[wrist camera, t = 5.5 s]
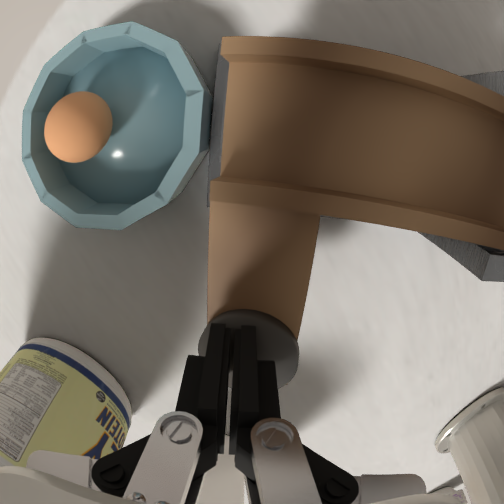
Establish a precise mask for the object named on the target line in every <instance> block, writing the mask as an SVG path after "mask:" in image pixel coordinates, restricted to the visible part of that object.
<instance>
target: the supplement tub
mask: <svg viewBox="0 0 504 504" xmlns="http://www.w3.org/2000/svg"><path fill="white" fill-rule="evenodd" d="M131 418H132V412H131V406H130V403H129V400H128V398H127V396H126V394H125V392H124V390H123V389H122V387H121V386H120V385H119V383H118V382H117V381H116V380H115V378H114V377H113V376H112V375H111V374H110V373H109V372H108V371H107V370H106V369H105V368H103V367H102V366H101V365H100V364H99V363H98V362H96V361H95V360H94V359H92V358H91V357H90V356H88V355H87V354H85V353H84V352H82V351H80V350H79V349H77V348H75V347H73V346H71V345H69V344H67V343H65V342H62V341H59V340H55V339H51V338H34V339H31V340H29V341H27V342H26V343H24V344H23V345H22V346H21V347H20V348H19V350H18V351H17V352H16V353H15V354H14V356H13V357H12V358H11V359H10V361H9V362H8V363H7V364H6V366H5V367H4V368H3V369H2V371H1V372H0V467H2V466H19V467H26V465H27V460H28V458H29V456H30V455H31V454H32V453H33V452H35V451H37V450H46V451H52V452H58V453H64V454H71V455H79V456H88V457H90V458H91V459H98V460H99V459H100V458H102V457H104V456H106V455H108V454H110V453H113V452H115V451H117V450H119V449H121V448H122V447H123V444H124V441H125V438H126V436H127V433H128V430H129V428H130V425H131Z"/></svg>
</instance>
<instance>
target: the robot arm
mask: <svg viewBox="0 0 504 504" xmlns="http://www.w3.org/2000/svg"><path fill="white" fill-rule="evenodd" d="M230 339H231V328H226V324H221V323H211V326H210V332H209V337H208V343H207V349H206V355H205V356H195V355H188V357H187V361H186V365H185V370H184V374H183V378H182V383H181V387H180V392H179V396H178V401H177V405H176V410H175V412H170V413H167V414H165V415H163V416H162V417H161V418H159V420H158V421H157V423H156V425H155V427H154V429H153V431H152V433H151V434H150V435H148V436H146V437H144V438H142V439H140V440H138V441H136V442H134V443H132V444H130V445H128V446H126V447H123V448H121V449H119V450H117V451H115V452H113V453H110V454H108V455H106V456H104V457H102V458H100V459H99V460H98V459H91V458H90V457H88V456H79V455H71V454H64V453H58V452H52V451H46V450H37V451H35V452H33V453H32V454H31V455H30V456H29V458H28V460H27V465H26V467H19V466H2V467H0V504H198V502H199V498H200V495H201V491H202V488H203V484H204V481H205V477H206V472H207V471H208V470H210V469H211V468H213V467H214V466H216V461H218V454H224V444H225V427H226V411H227V396H228V380H229V359H230ZM435 447H436V449H437V451H438V452H439V453H448V452H451V454H452V456H453V459H454V461H455V463H456V466H457V468H458V470H459V473H460V475H461V478H462V480H463V483H464V485H465V488H466V490H467V493H468V495H469V498H470V501H471V504H504V387H501V388H498V389H495V390H493V391H491V392H489V393H488V394H486V395H484V396H482V397H481V398H480V399H478V400H477V401H475V402H474V403H472V404H471V405H470V406H468V407H467V408H466V409H465V410H463V411H462V412H461V413H460V414H459V415H458V416H456V417H455V418H454V419H453V420H452V421H451V422H450V423H449V424H448V425H447V426H446V427H445V428H444V429H443V430H442V432H441V433H440V434H439V436H438V437H437V440H436V442H435ZM229 455H235V457H234V462H235V467H236V468H237V469H238V470H239V471H241V472H242V473H243V474H244V479H245V484H246V490H247V495H248V500H249V504H463V503H462V502H461V501H460V500H458V499H457V498H455V497H453V496H450V495H445V494H434V493H432V494H426V486H425V483H424V481H423V479H422V478H421V477H419V476H417V475H415V474H394V475H364V474H362V475H361V476H352V475H351V474H349V473H348V472H346V471H344V470H343V469H341V468H339V467H338V466H336V465H334V464H333V463H331V462H330V461H328V460H326V459H325V458H323V457H322V456H320V455H318V454H317V453H315V452H314V451H312V450H311V449H309V448H308V447H306V446H305V445H303V444H302V443H301V440H300V437H299V434H298V431H297V430H296V428H295V427H294V426H293V425H292V424H291V423H290V422H288V421H286V420H284V419H281V416H280V406H279V396H278V386H277V376H276V367H275V361H269V360H257V344H256V326H250V325H241V329H237V328H235V343H234V359H233V377H232V395H231V415H230V435H229Z"/></svg>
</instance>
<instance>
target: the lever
mask: <svg viewBox="0 0 504 504" xmlns="http://www.w3.org/2000/svg"><path fill="white" fill-rule="evenodd" d="M220 55H221V56H223V57H224V58H225V59H226V60H227V61H228V62H229V72H228V83H227V94H226V105H225V117H224V130H223V143H222V158H221V173H220V177H218V178H215V179H213V180H211V181H210V197H209V201H210V216H209V244H208V290H207V326H206V328H205V330H204V332H203V333H202V335H201V337H200V340H199V344H198V353H199V356H205V355H206V349H207V343H208V337H209V332H210V326H211V323H221V324H226V328H231V339H230V359H229V380H228V387H230V388H232V377H233V359H234V343H235V328H237V329H241V325H250V326H256V344H257V360H269V361H275V367H276V376H277V386H278V389H279V388H281V387H283V386H284V385H287V383H288V382H289V381H290V380H291V379H292V378H293V377H294V375H295V373H296V371H297V368H298V360H299V346H298V342H297V340H298V335H299V331H300V326H301V321H302V316H303V311H304V306H305V301H306V296H307V291H308V286H309V280H310V275H311V269H312V264H313V258H314V252H315V246H316V240H317V234H318V228H319V221H320V215H324V216H331V217H337V218H344V219H350V220H356V221H362V222H368V223H374V224H379V225H385V226H390V227H396V228H401V229H407V230H412V231H417V232H422V233H427V234H432V235H437V236H442V237H447V238H452V239H456V240H461V241H466V242H470V243H475V244H479V245H483V246H488V247H492V248H496V249H500V250H504V96H502V95H500V94H498V93H496V92H494V91H492V90H490V89H488V88H486V87H484V86H481V85H479V84H477V83H475V82H472V81H470V80H468V79H465V78H463V77H460V76H458V75H455V74H453V73H450V72H447V71H445V70H442V69H439V68H436V67H433V66H430V65H427V64H424V63H421V62H418V61H414V60H411V59H408V58H404V57H400V56H397V55H393V54H389V53H385V52H381V51H376V50H372V49H367V48H362V47H357V46H351V45H346V44H339V43H333V42H326V41H318V40H309V39H298V38H285V37H264V36H229V37H222V44H221V53H220Z"/></svg>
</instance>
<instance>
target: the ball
mask: <svg viewBox="0 0 504 504" xmlns="http://www.w3.org/2000/svg"><path fill="white" fill-rule="evenodd" d="M112 125H113V120H112V114H111V110H110V108H109V106H108V104H107V103H106V102H105V100H103V99H102V98H101V97H100V96H98V95H97V94H94V93H91V92H86V91H79V92H74V93H71V94H68V95H66V96H65V97H63V98H62V99H60V100H59V101H58V102H57V103H56V104H55V105H54V106H53V107H52V109H51V110H50V112H49V114H48V116H47V119H46V122H45V127H44V136H45V141H46V144H47V146H48V148H49V150H50V151H51V152H52V154H53V155H55V156H56V157H57V158H59V159H60V160H63V161H65V162H71V163H77V162H83V161H86V160H88V159H90V158H92V157H94V156H95V155H97V154H98V153H99V152H100V151H101V150H102V149H103V148H104V146H105V145H106V143H107V142H108V140H109V137H110V135H111V131H112Z"/></svg>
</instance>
